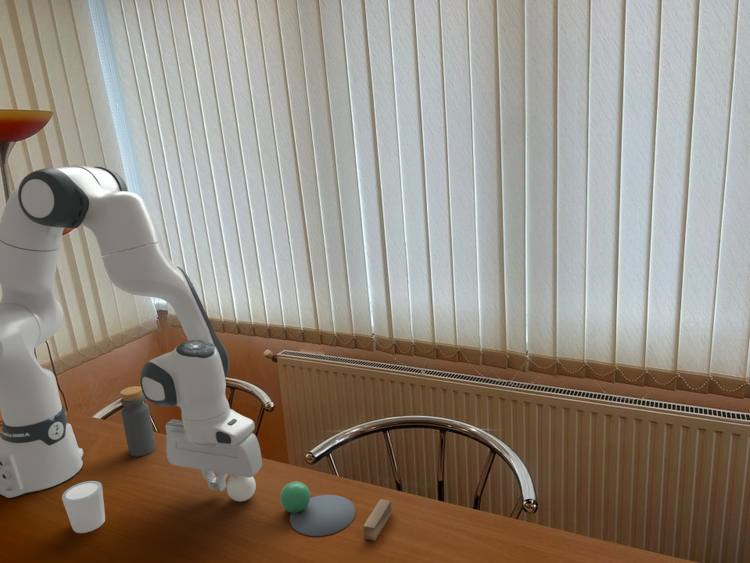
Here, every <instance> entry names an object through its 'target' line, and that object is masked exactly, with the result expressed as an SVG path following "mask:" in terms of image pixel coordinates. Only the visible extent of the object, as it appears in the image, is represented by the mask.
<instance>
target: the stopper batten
mask: <svg viewBox="0 0 750 563" xmlns="http://www.w3.org/2000/svg"><path fill="white" fill-rule="evenodd" d="M392 511H393V510H392V501H391V500H388V499H383V498H380V499H379V500H378V502H377V504H376V505H375V507H374V508H373V510H372V512H371V513H370V515H369V516H368V518H367V519H366V521H365V523H364V524H363V526H362V527H363V538H364V539H365V540H369V541H375V542H376V541H377V539H378V537H379V535H380V534H381V532H382V530H383V529H384V527H385V525H386V523H387V522H388V520H389V518H390V517H391V515H392V513H393V512H392Z"/></svg>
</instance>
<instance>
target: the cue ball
mask: <svg viewBox="0 0 750 563" xmlns="http://www.w3.org/2000/svg"><path fill="white" fill-rule="evenodd" d="M256 488H257V486H256V480H255V478H254V475H253V476H252V477H251V478H248V477H242V476H236V475H230V477H229V478H228V481H227V482H226V492H227V494H228V496H229V497H230V498H231V500H233V501H235V502H240V503H241V502H246V501H247V500H249V499H250V498H252V496H253V495H254V494H255V492H256Z"/></svg>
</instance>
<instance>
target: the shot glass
mask: <svg viewBox="0 0 750 563" xmlns="http://www.w3.org/2000/svg"><path fill="white" fill-rule="evenodd" d="M103 491H104V490H103V484H102V483H101V482H100V481H95V480H88V481H83V482H80V483H76V484H74V485H72V486H70V487H69V488H67V489H66V490H65V491H64V492H63V493H62V495H61V500H62V503H63V506H64V508H65V511H66V514H67V517H68V520H69V522H70V525H71V526H70V527H71V528H72V531H74V532H75V533H77V534H86V533H88V532H89V533H90V532H93V531H94V530H97V529H99V528H100V527H101V526H103V524H104V523H105V521H106V514H105V513H106V512H105V503H104V492H103Z"/></svg>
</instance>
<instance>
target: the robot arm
mask: <svg viewBox="0 0 750 563" xmlns="http://www.w3.org/2000/svg"><path fill="white" fill-rule="evenodd" d="M19 183H20V184H19V186H18V188H15V189H14V190H13V191H12V192H11V193H10V194H9V197H8V199H7V200H6V204H5V206H4V208H3V212H2V215H1V218H0V289H1V299H0V413H1V415H2V420H1V421H0V428H1V432H0V495H1V496H4V497H5V498H8V499H10V498H11V499H12V498H16V497H18V496H22V495H25V494H27V493H33V492H37V491H42V490H46V489H49V488H52V487H55V486H57V485H59V484H62V483H63V482H66V481H67V480H69V479H71V478H72V477H74V476H75V475H76V474H77V473H79V472H80V470H81V468H82V467H83V464H84V462H83V460H82V458H83V456H84V450H83V448H82V447H79V446H78V443H77V439H76V436H75V434H74V430H73V428H72V425H71V424H70V423H68V417H67V412H66V409H65V407H64V405H62V402H61V397H60V392H59V387H58V384H57V379H56V378H57V377H56V376H55V374H54V373H53V372H52V371H51V370H49V369H48V368H44V367H42V366H41V364H40V363H39V361H38V359H37V358H36V357H37V356H36V354H35V348H37V347H39V346H40V345H42V344H43V343H45V342H46V341H48V340H50V339H51V337H53V335H54V334H56V332H57V331H58V330H59V329H60V327H61V326H62V324H63V322H64V316H65V315H64V310H63V307H62V305H61V304H60V302H59V301H58V300H57V299H56V298H57V297H56V292H55V279H56V278H55V277H56V271H57V266H58V261H59V255H60V250H61V244H62V240H63V239H62V238H63V233H64V230H65V229H73V230H75V229H78V228H79V227H80V226H83V227H85V228H88V229H89V230H90V231H91V232H92V233H93V235H94V236H95V239H96V241H97V244H98V249H99V251H100V255H101V259H102V262H103V265H104V268H105V271H106V274H107V276H108V278H109V279H110V281H111V283H112V284H113V285H114V286H116V287H117V289H120V290H121V291H123V292H124V293H128V294H131V295H134V296H140V297H149V298H157V299H161V300H163V301H166V302H167V303H168V304H169V305H170V306H171V308H172V309H173V311H174V312H175V315H176V317H177V319H178V321H179V323H180V325H181V327H182V330H183V331H184V334H185V336H186V338H187V341H183V342H181V343H179V344H177V345H176V347H175V348H174V350H172V351H170V352H169V351H168V352H166V353H164V354H161V355H159V356H157V357H154V358H152V359H150V360H149V361H147V362H145V364H143V366H142V369H141V370H140V379H139V380H140V382H139V383H140V387H141V389H142V394H144V396H145V400H147V401H148V402H150V403H152V404H154V405H156V406H160V407H166V408H167V407H169V408H171V407H175V406H176V407H179V408H180V410H181V420H179V419H175V418H173V419H170V420H169V421H168V422H167V423H166V424H165V431H166V432H165V434H166V437H165V449H166V458H167V461H168V462H169V463H170V464H171V465H172V466H178V467H184V468H189V469H196V470H200V472H201V475H202V476H203V478H204V479H205V481H206V482H207V485H208V489H209V490H216V491H221V492H223V491H224V490H225V489H227V481H226V479H227V477H228V476H232V475H236V476H242V477H248V478H251V477H252V476H253V477H254V476H255V475H256V474H257V473H258V472H259V470H261V468H262V467H263V460H262V459H263V458H262V453H261V447H260V443H259V441H258V440H259V439H258V438H257V436H256V435H255V433H253V432H254V430H255V429H256V428H255V426H256V425H255V421H254V420H252V419H251V418H249V417H246V416H245V415H242V414H240V413H239V412H236V411H235V410H234V409H232V408H230V404H229V401H228V399H227V396H226V388H227V383H226V378H227V376H228V374H229V373H228V372H229V370H230V369H229V368H230V356H229V354H228V350H227V349H226V348H225V346H224V344H223V342H221V340H220V338H219V337H218V336H217V334H216V332H215V329H214V327H213V326H212V323H211V321H210V318H209V316H208V314H207V312H206V310H205V308H204V305H203V303H202V301H201V300H200V297H199V294H198V293H197V290H196V288H195V286H194V284H193V283H192V281H191V279H190V277H189V276H188V274H187V273H186V271H185V270H184V269H183V268H182V267H179V266H176V264H175V263H174V262H173V261H172V260H171V258H170V257H169V255H168V253H167V251H166V250H165V247H164V245H163V242H162V239H161V235H160V232H159V231H158V227H157V224H156V223H155V220H154V217H153V216H152V213H151V211H150V209H149V207H148V206H147V203H146V202H145V200H144V198H143V197H141V195H139V194H137V193H135V192H133V191H128V186H127V183H126V181H125V180H124V179H123V177H122V176H121V175H119V173H117V172H115V171H113V170H111V169H108V168H106V167H102V166H87V165H70V166H64V167H63V166H60V167H55V168H54V167H45V168H41V169H36V170H35V171H32V172H30V173H27V175H26V176H24V178H23V179H22V180H21V181H20V182H19ZM215 473H216V474H215Z"/></svg>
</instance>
